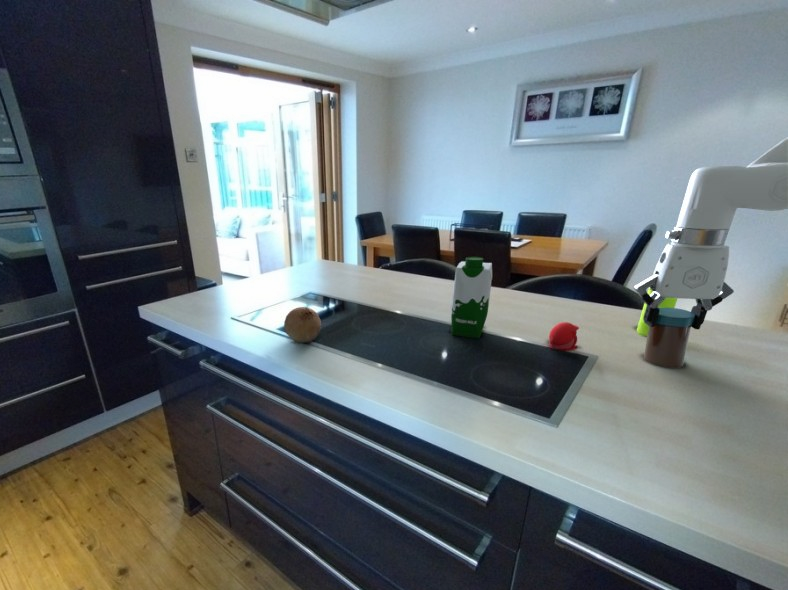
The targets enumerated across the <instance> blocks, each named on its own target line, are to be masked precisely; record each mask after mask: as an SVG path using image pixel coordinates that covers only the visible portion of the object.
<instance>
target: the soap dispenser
mask: <svg viewBox="0 0 788 590" xmlns="http://www.w3.org/2000/svg"><path fill="white" fill-rule="evenodd" d="M653 292H654V291H652V290H650V287H649V288H647V293H648V294H649V295H651V294H652V293H653ZM677 301H678V298H665V299H664V300H663V301H662V302H661V304H660V305H659V306H658V308H661V307H666V308H676V304H677ZM646 307H647V304H645V302H644V303H643V306H642V310H641V313H640V318H639V320H638V324H637V328H636V333H638V335H641V336H644V337H647V334H648V328H649V326H648V325H647V324H646V323H645V322H644V319H643V318H644V314H645V310H646Z"/></svg>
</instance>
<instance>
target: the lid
mask: <svg viewBox="0 0 788 590" xmlns="http://www.w3.org/2000/svg"><path fill="white" fill-rule="evenodd" d="M659 309H660V312H659V315H658V318H657V322H656V323H657V324H661V325H666V326H675V327H686V326H691V325H692V324H693V322H694V319H695V314H694V313H692V312H691V310H690V311H689V310H686V309H683V308H677V307H675V308H666V307H661V308H659Z"/></svg>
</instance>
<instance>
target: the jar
mask: <svg viewBox="0 0 788 590" xmlns="http://www.w3.org/2000/svg"><path fill="white" fill-rule="evenodd" d="M691 328H692V327H691V326H686V327H675V326H666V325H661V324H657V323H656V325H655V326H654V327H650V326H649V328H648V334H647V336H646V341H645V347H644V352H643V359H644V360H645V361H646V362H648V363H650V364H653V365H656V366H659V367H662V368H671V369H679V368H682V367H684V364H685V363H684V362H685V358H686V353H687V348H688V343H689V337H690V334H691V333H690V332H691Z"/></svg>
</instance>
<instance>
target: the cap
mask: <svg viewBox="0 0 788 590" xmlns="http://www.w3.org/2000/svg"><path fill="white" fill-rule="evenodd" d="M579 329H580V327H579V326H577V325H575V324H573V323H572V322H568V321H567V322H566V321H564V322H563V321H562V322H560V323H557V324H556V325H554V326H553V327H552V328H551V330H550V331H549V334H548V344H549V347H550V348H551V349H553V350H555V351H561V352H562V351H563V352H568V351H569V352H570V351H573V350H577V349H578V345H576V344H577V342H578V335H577V331H578V330H579Z"/></svg>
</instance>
